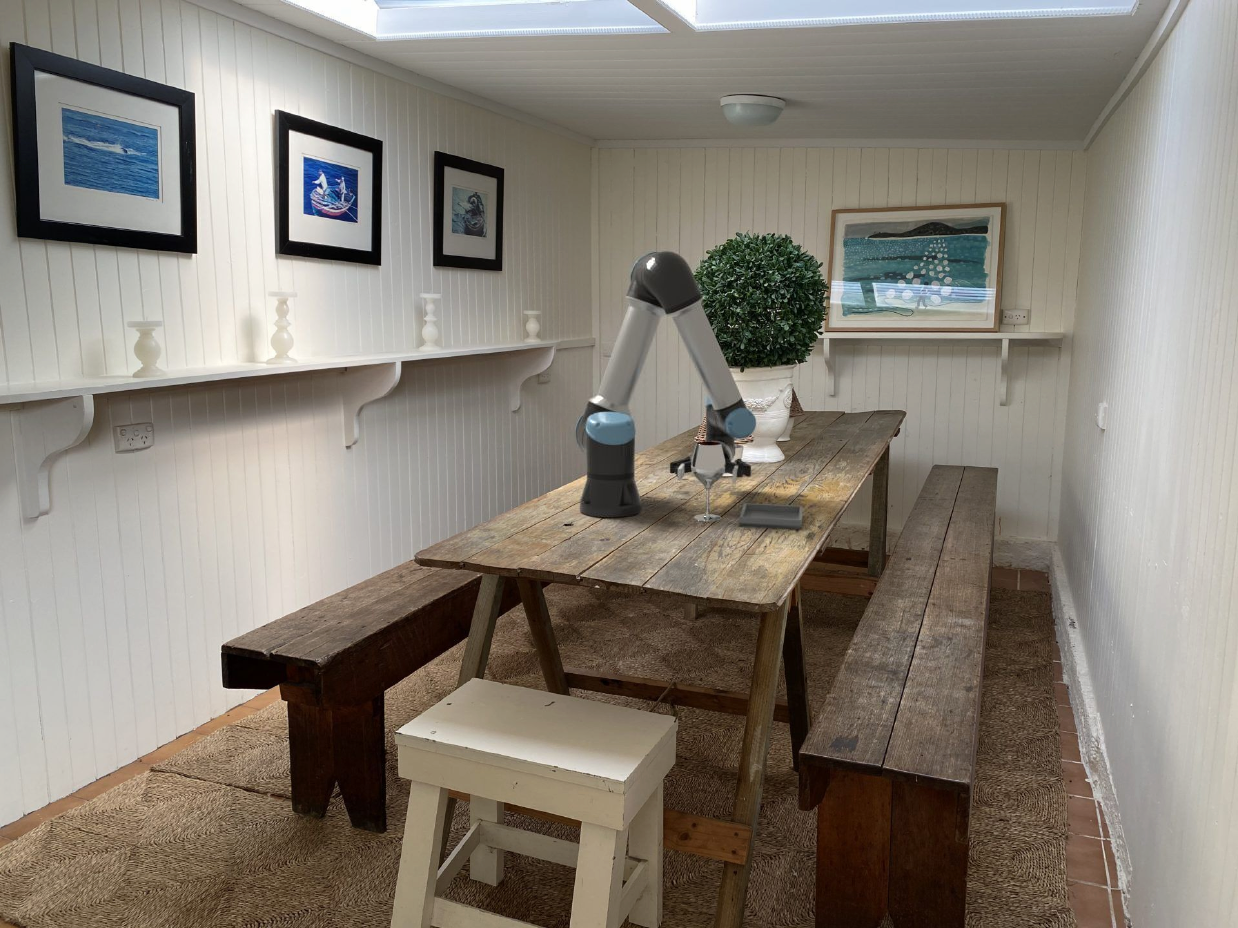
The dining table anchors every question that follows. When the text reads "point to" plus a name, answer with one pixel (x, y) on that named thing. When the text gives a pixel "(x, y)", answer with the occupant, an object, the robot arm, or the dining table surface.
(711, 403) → the robot arm
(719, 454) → the wineglass
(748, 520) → the tray
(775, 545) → the dining table surface
